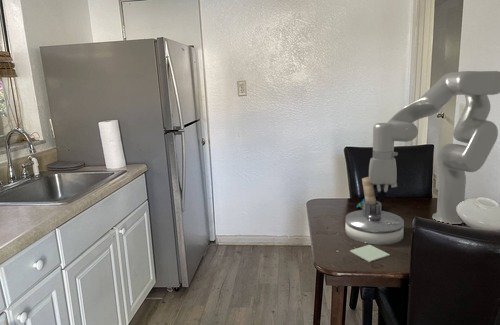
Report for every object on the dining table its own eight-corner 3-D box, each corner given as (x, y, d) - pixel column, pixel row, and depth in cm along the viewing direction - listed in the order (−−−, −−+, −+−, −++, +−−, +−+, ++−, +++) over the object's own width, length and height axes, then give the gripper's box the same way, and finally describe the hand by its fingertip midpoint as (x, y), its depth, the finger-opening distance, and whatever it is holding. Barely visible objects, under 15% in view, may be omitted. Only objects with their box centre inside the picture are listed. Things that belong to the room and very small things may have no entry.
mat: (369, 245, 123) (369, 244, 123) (389, 255, 115) (389, 254, 115) (349, 251, 119) (349, 250, 119) (369, 262, 111) (369, 261, 111)
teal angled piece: (363, 200, 169) (376, 189, 161) (371, 210, 167) (385, 199, 159) (350, 208, 162) (362, 197, 155) (358, 219, 160) (371, 208, 153)
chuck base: (373, 219, 148) (373, 210, 147) (416, 236, 129) (416, 226, 128) (334, 229, 139) (334, 220, 138) (373, 249, 120) (374, 238, 119)
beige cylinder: (366, 211, 142) (361, 178, 140) (377, 209, 141) (371, 176, 139) (367, 214, 138) (362, 180, 136) (378, 212, 137) (372, 178, 135)
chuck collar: (409, 234, 121) (410, 219, 120) (347, 232, 125) (347, 217, 124) (397, 214, 141) (398, 201, 140) (344, 212, 145) (344, 200, 144)
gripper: (402, 153, 135) (401, 198, 139) (362, 153, 139) (361, 197, 143) (405, 157, 128) (403, 204, 132) (362, 156, 132) (362, 203, 136)
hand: (381, 200), depth 137 cm, fingers closed
